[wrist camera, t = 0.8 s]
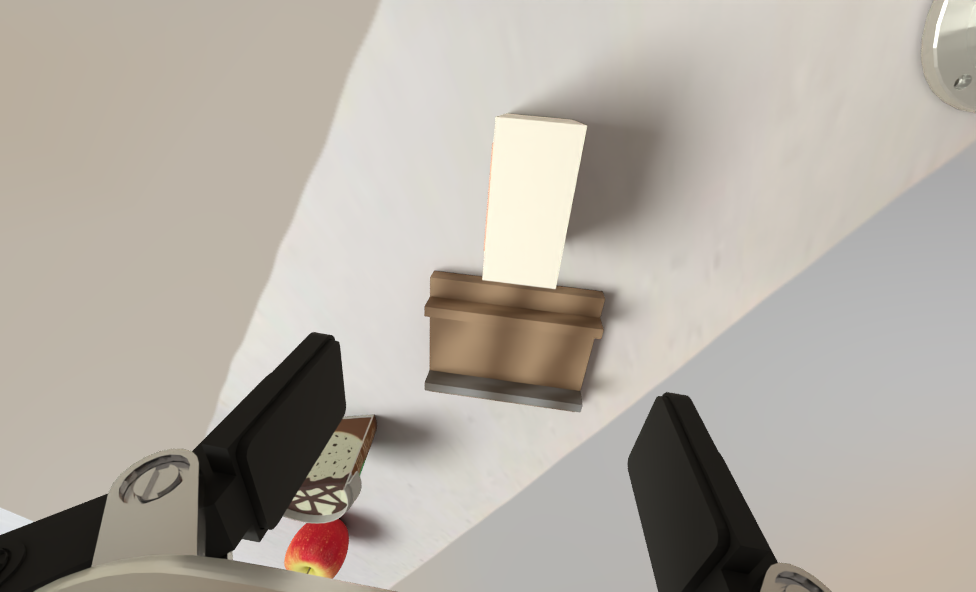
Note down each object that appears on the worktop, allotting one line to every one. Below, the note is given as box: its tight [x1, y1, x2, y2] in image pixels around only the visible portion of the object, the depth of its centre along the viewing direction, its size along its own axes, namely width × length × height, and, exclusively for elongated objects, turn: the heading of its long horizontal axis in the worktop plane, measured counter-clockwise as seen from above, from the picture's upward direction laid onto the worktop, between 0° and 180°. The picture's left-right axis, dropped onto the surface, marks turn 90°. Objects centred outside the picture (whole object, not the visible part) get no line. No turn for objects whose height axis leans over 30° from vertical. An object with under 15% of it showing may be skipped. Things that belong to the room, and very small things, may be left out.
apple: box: [284, 519, 349, 579], centre depth 53 cm, size 8×8×10 cm
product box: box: [482, 113, 587, 289], centre depth 26 cm, size 5×10×9 cm, turn 175°
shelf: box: [425, 271, 605, 412], centre depth 36 cm, size 16×14×4 cm
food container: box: [283, 415, 377, 523], centre depth 43 cm, size 12×6×10 cm, turn 102°
